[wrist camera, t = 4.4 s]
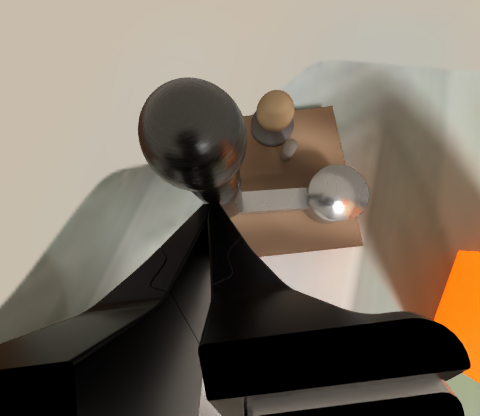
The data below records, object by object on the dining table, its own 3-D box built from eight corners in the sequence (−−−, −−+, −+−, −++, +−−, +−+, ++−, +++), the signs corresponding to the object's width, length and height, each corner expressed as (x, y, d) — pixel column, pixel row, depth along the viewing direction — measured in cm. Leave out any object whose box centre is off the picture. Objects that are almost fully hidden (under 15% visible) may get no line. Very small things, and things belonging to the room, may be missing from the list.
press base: (354, 245, 16) (400, 247, 11) (217, 260, 16) (206, 267, 11) (325, 111, 18) (353, 66, 14) (206, 124, 18) (193, 85, 14)
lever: (352, 222, 15) (718, 157, 3) (211, 230, 15) (102, 197, 4) (344, 175, 16) (624, -11, 4) (210, 183, 16) (114, 31, 4)
